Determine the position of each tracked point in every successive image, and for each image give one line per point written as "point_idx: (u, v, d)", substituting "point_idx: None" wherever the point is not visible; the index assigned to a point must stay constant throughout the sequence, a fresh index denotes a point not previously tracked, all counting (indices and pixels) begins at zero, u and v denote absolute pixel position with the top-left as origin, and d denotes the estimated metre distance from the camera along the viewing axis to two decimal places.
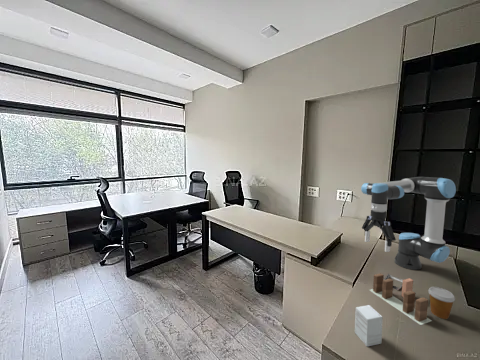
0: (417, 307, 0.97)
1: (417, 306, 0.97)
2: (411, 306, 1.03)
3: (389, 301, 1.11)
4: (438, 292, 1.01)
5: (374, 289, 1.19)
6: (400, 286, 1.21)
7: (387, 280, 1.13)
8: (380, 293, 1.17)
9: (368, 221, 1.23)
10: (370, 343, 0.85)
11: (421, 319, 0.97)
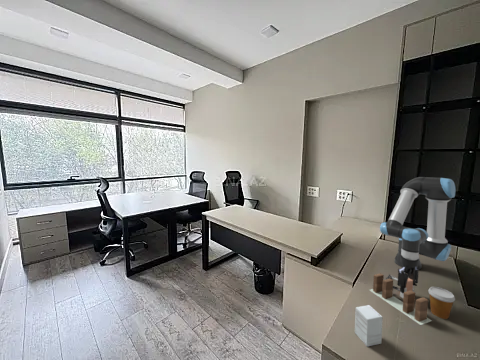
0: (417, 307, 0.97)
1: (417, 306, 0.97)
2: (411, 306, 1.03)
3: (389, 301, 1.11)
4: (438, 292, 1.01)
5: (374, 289, 1.19)
6: None
7: (387, 280, 1.13)
8: (380, 293, 1.17)
9: None
10: (370, 343, 0.85)
11: (421, 319, 0.97)
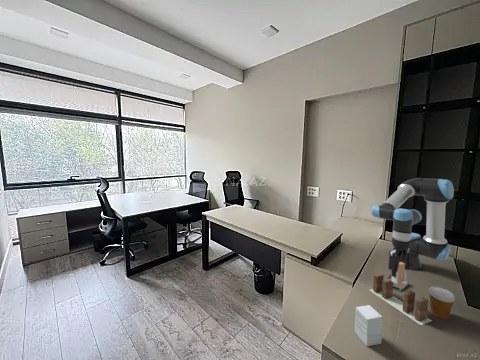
0: (417, 307, 0.97)
1: (417, 306, 0.97)
2: (411, 306, 1.03)
3: (389, 301, 1.11)
4: (438, 292, 1.01)
5: (374, 289, 1.19)
6: (402, 287, 1.20)
7: (387, 280, 1.13)
8: (380, 293, 1.17)
9: None
10: (370, 343, 0.85)
11: (421, 319, 0.97)
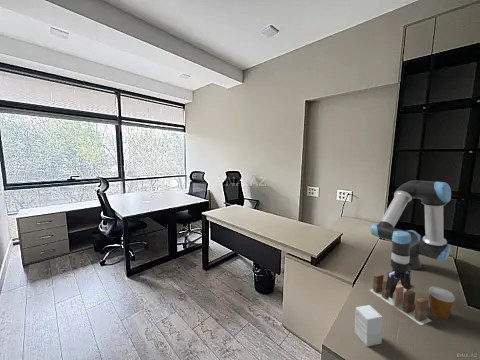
0: (417, 307, 0.97)
1: (417, 306, 0.97)
2: (411, 306, 1.03)
3: None
4: (438, 292, 1.01)
5: (374, 289, 1.19)
6: None
7: None
8: (380, 293, 1.17)
9: (405, 275, 1.09)
10: (370, 343, 0.85)
11: (421, 319, 0.97)
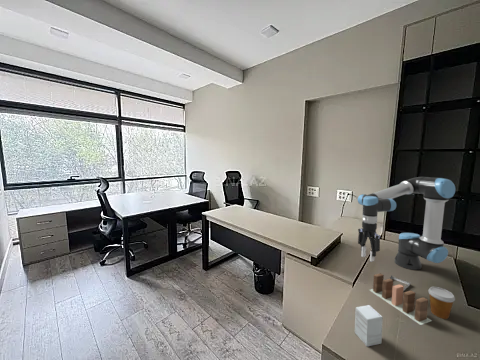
0: (417, 307, 0.97)
1: (417, 306, 0.97)
2: (411, 306, 1.03)
3: (389, 301, 1.11)
4: (438, 292, 1.01)
5: (374, 289, 1.19)
6: (404, 288, 1.20)
7: (387, 280, 1.13)
8: (380, 293, 1.17)
9: (361, 234, 1.28)
10: (370, 343, 0.85)
11: (421, 319, 0.97)
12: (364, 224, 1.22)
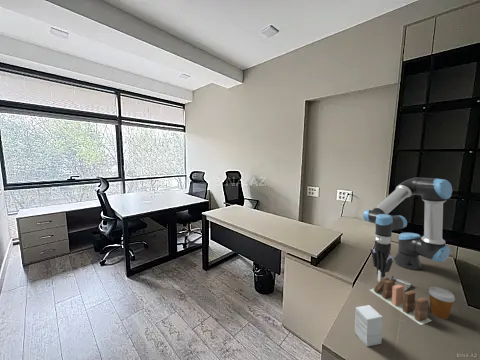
0: (417, 307, 0.97)
1: (417, 306, 0.97)
2: (411, 306, 1.03)
3: (389, 301, 1.11)
4: (438, 292, 1.01)
5: (375, 289, 1.18)
6: (405, 289, 1.19)
7: (389, 281, 1.12)
8: (380, 293, 1.17)
9: (375, 255, 1.20)
10: (370, 343, 0.85)
11: (421, 319, 0.97)
12: (377, 244, 1.14)
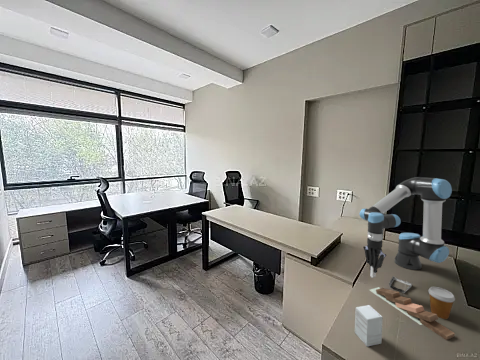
0: (436, 331, 0.90)
1: (438, 332, 0.90)
2: None
3: (389, 301, 1.11)
4: (438, 292, 1.01)
5: (378, 292, 1.16)
6: (406, 289, 1.19)
7: (407, 302, 1.04)
8: None
9: (367, 252, 1.24)
10: (370, 343, 0.85)
11: None
12: (369, 241, 1.19)
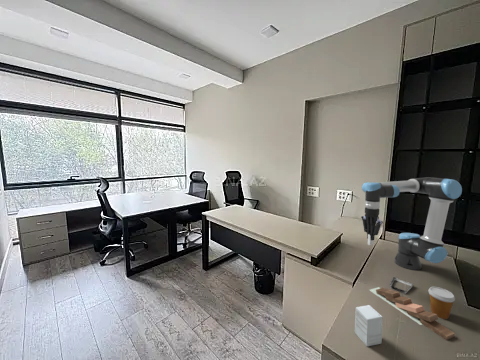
0: (436, 331, 0.90)
1: (438, 332, 0.90)
2: None
3: (389, 301, 1.11)
4: (438, 292, 1.01)
5: (378, 292, 1.16)
6: (407, 289, 1.18)
7: (407, 302, 1.04)
8: None
9: (365, 221, 1.29)
10: (370, 343, 0.85)
11: None
12: (367, 210, 1.24)
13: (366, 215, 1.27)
